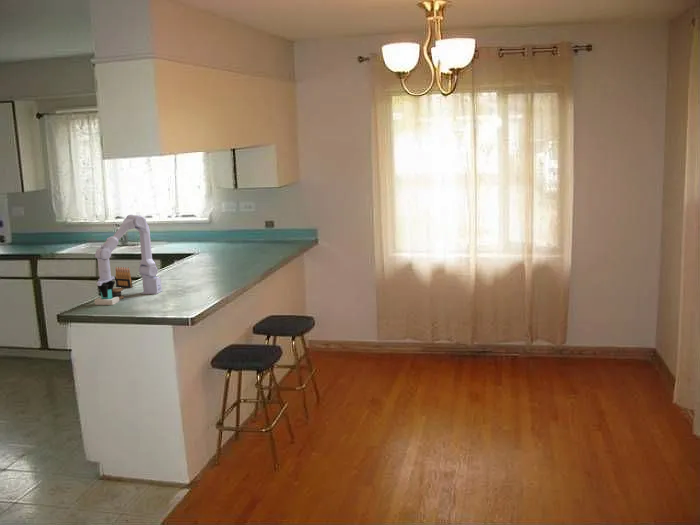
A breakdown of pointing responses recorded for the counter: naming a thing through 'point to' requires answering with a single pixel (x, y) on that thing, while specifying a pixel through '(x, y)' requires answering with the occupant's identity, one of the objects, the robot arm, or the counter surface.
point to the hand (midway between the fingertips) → (107, 296)
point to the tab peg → (108, 295)
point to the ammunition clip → (123, 278)
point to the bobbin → (117, 293)
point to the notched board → (106, 301)
